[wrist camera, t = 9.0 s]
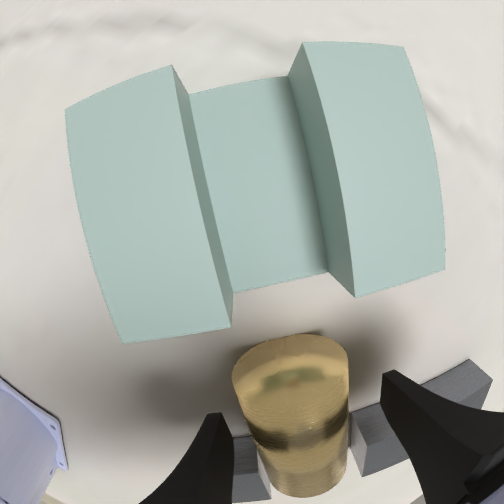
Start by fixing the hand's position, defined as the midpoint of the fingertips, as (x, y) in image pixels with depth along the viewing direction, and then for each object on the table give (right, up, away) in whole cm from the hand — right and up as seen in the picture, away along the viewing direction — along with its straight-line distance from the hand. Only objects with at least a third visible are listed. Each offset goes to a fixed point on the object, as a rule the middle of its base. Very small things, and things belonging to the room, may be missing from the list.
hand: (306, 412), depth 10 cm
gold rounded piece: (0, -1, 0) cm, 1 cm away
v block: (-2, +9, 0) cm, 10 cm away
